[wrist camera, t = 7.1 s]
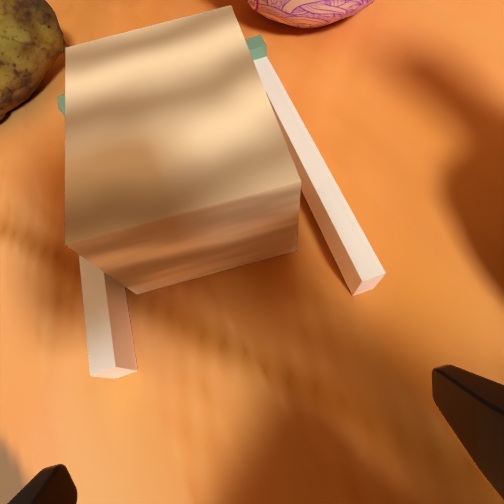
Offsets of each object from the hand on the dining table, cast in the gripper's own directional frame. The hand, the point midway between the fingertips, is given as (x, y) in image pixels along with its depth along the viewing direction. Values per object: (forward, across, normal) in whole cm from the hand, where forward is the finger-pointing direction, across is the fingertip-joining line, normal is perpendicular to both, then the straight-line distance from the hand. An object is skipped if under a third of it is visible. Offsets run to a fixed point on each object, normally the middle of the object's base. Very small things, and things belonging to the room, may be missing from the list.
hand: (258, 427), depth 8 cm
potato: (+33, +16, -16) cm, 41 cm away
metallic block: (+21, +1, -4) cm, 22 cm away
